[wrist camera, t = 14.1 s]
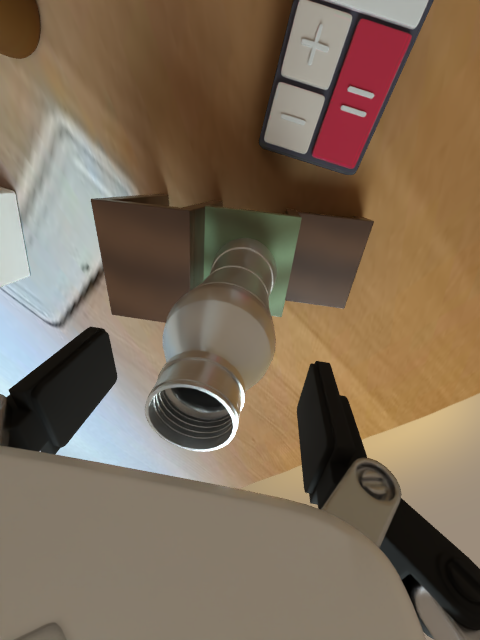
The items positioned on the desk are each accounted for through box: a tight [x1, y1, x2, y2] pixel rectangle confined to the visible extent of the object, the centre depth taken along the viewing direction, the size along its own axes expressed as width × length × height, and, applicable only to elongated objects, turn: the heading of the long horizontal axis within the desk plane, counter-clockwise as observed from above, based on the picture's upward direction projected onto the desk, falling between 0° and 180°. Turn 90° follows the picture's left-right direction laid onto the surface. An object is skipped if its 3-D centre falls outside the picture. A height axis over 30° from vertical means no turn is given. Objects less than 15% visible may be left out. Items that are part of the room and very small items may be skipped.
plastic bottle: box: [145, 238, 277, 451], centre depth 18 cm, size 6×7×20 cm
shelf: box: [91, 194, 374, 323], centre depth 28 cm, size 11×26×14 cm, turn 85°
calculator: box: [259, 0, 434, 175], centre depth 23 cm, size 11×4×15 cm
